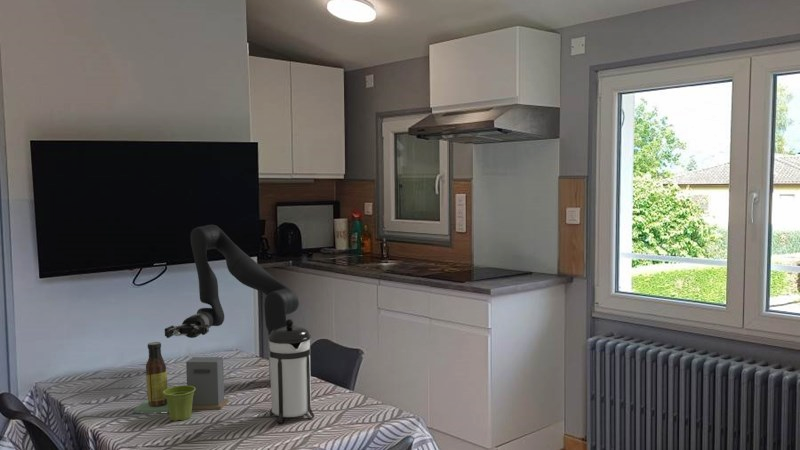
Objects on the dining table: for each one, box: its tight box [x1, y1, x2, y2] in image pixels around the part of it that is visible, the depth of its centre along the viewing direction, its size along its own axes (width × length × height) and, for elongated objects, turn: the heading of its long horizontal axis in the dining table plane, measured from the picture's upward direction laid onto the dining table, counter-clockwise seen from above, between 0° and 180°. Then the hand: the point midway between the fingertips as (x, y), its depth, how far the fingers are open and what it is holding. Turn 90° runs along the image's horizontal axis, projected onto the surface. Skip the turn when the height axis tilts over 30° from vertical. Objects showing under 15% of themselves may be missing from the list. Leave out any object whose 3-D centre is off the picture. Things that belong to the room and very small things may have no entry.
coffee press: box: [267, 319, 315, 425], centre depth 206 cm, size 17×16×30 cm
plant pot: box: [163, 384, 196, 422], centre depth 206 cm, size 9×9×9 cm
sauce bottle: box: [145, 341, 169, 406], centre depth 216 cm, size 6×6×20 cm
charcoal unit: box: [185, 356, 229, 411], centre depth 217 cm, size 12×8×15 cm, turn 87°
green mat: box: [133, 399, 169, 414], centre depth 216 cm, size 11×11×1 cm
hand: (179, 334), depth 230 cm, fingers open, 8 cm apart
